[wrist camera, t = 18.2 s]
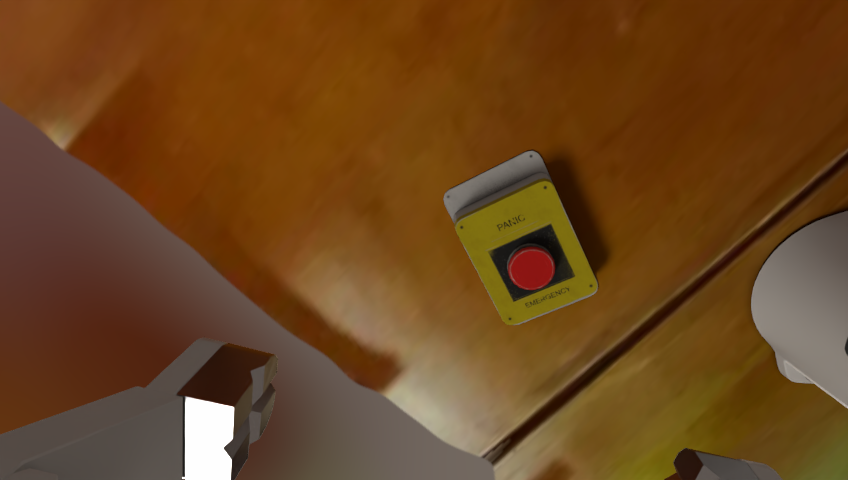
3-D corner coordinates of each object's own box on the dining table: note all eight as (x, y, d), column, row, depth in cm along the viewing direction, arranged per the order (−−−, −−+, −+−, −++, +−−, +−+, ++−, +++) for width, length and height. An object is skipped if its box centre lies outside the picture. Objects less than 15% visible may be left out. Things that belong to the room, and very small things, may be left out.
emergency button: (512, 350, 39) (436, 205, 36) (508, 325, 43) (439, 192, 40) (614, 311, 37) (543, 152, 33) (599, 288, 41) (535, 145, 37)
